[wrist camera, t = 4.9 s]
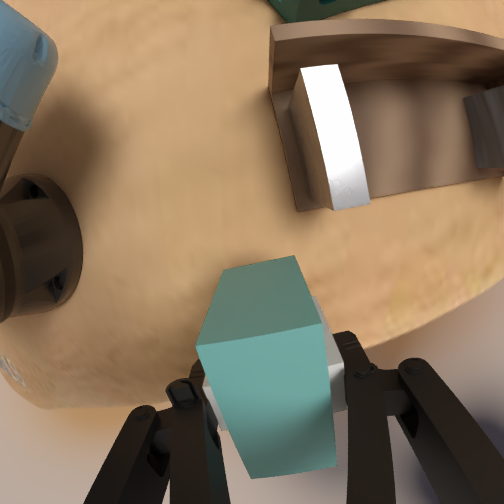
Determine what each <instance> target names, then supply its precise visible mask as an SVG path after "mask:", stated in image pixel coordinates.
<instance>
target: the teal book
mask: <svg viewBox="0 0 504 504" xmlns="http://www.w3.org/2000/svg"><path fill="white" fill-rule="evenodd" d="M195 347H196V350H197V353H198V355H199V358H200V361H201V364H202V366H203V369H204V371H205V374H206V377H207V379H208V382H209V384H210V387H211V389H212V392H213V394H214V397H215V399H216V402H217V404H218V407H219V409H220V411H221V414H222V416H223V419H224V421H225V423H226V426H227V428H228V430H229V432H230V435H231V437H232V439H233V441H234V443H235V446H236V448H237V450H238V452H239V454H240V457H241V459H242V461H243V463H244V465H245V467H246V469H247V471H248V473H249V476H250V478H251V479H255V478H265V477H274V476H282V475H289V474H296V473H302V472H308V471H313V470H319V469H323V468H328V467H332V466H337V460H336V445H335V434H334V433H335V432H334V421H333V410H332V400H331V390H330V381H329V372H328V364H327V356H326V348H325V340H324V333H323V325H322V321H321V319H320V316H319V314H318V311H317V309H316V306H315V304H314V301H313V299H312V297H311V294H310V292H309V289H308V287H307V284H306V282H305V279H304V277H303V275H302V272H301V270H300V267H299V265H298V263H297V260H296V258H295V256H294V255H293V256H288V257H284V258H279V259H274V260H269V261H265V262H260V263H255V264H250V265H245V266H241V267H236V268H231V269H226V270H223V273H222V276H221V278H220V281H219V284H218V286H217V289H216V291H215V294H214V297H213V299H212V302H211V305H210V307H209V310H208V313H207V315H206V318H205V321H204V323H203V326H202V329H201V331H200V334H199V337H198V339H197V342H196V345H195Z"/></svg>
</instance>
